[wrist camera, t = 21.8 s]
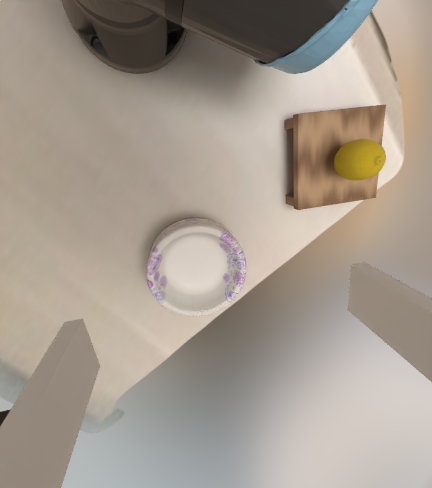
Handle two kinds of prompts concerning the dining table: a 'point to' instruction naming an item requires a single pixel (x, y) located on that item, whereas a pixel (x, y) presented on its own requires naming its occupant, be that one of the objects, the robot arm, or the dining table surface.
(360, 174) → the lemon
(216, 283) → the paper bowls
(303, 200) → the footstool
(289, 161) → the dining table surface
